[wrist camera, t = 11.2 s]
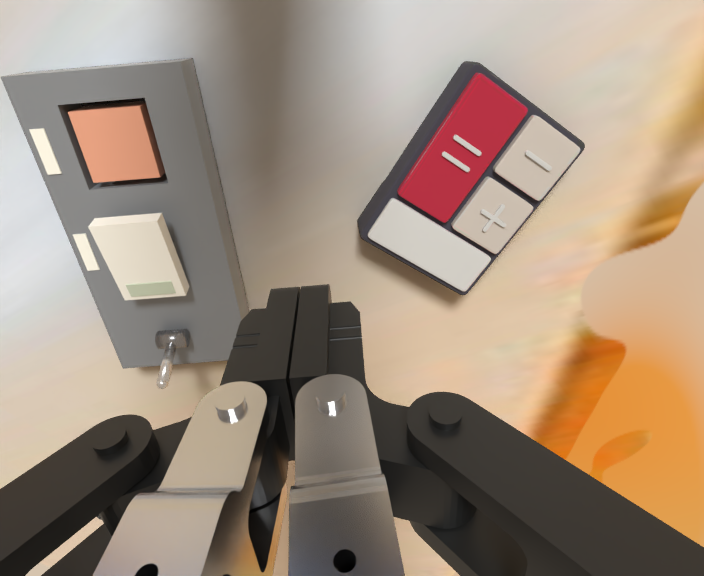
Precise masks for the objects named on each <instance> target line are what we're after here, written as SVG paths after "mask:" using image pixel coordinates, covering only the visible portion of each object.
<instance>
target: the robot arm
mask: <svg viewBox="0 0 704 576" xmlns="http://www.w3.org/2000/svg"><path fill="white" fill-rule="evenodd" d="M291 460H295V486H291V489H290V500H289V571H288V576H405V574H404V569H403V564H402V559H401V554H400V549H399V544H398V539H397V533H396V528H395V523H394V518H393V517H397V518H401V519H405V520H409V521H410V523H411V525H412V527H413V529H414V530H415V532H416V533H417V534H418V535H419V536H420V537H421V538H422V539H423V540H424V541H425V542H426V543H427V544H428V545H429V546H430V547H431V548H432V549H433V550H434V551H435V552H437V553H438V554H439V555H440V556H441V557H442V558H443V559H444V560H445V561H446V562H447V563H448V564H449V565H450V566H451V567H452V568H453V569H454V570H455V571H456V572H457V573H458V574H459V575H460V576H704V547H702V546H700V545H699V544H697V543H695V542H694V541H692V540H691V539H689V538H688V537H686V536H684V535H683V534H681V533H680V532H678V531H677V530H675V529H673V528H672V527H670V526H669V525H667V524H666V523H664V522H662V521H661V520H659V519H657V518H656V517H655V516H653V515H651V514H650V513H648V512H647V511H645V510H643V509H642V508H640V507H639V506H637V505H636V504H634V503H632V502H631V501H629V500H627V499H626V498H624V497H623V496H621V495H620V494H618V493H617V492H615V491H613V490H612V489H610V488H609V487H607V486H606V485H604V484H602V483H601V482H599V481H598V480H596V479H594V478H593V477H591V476H590V475H588V474H587V473H585V472H583V471H582V470H580V469H579V468H577V467H575V466H574V465H572V464H571V463H569V462H568V461H566V460H564V459H563V458H561V457H560V456H558V455H556V454H555V453H553V452H552V451H550V450H549V449H547V448H545V447H544V446H542V445H541V444H539V443H537V442H536V441H534V440H533V439H531V438H530V437H528V436H526V435H525V434H523V433H522V432H520V431H518V430H517V429H515V428H514V427H512V426H511V425H509V424H507V423H506V422H504V421H503V420H501V419H499V418H498V417H496V416H495V415H493V414H492V413H490V412H488V411H487V410H485V409H484V408H482V407H480V406H479V405H477V404H476V403H474V402H473V401H471V400H469V399H468V398H466V397H464V396H461V395H459V394H455V393H450V392H434V393H429V394H426V395H424V396H421V397H420V398H418V399H416V400H415V401H414V402H413V403H412V404H411V406H410V407H406V406H400V405H395V404H391V403H388V402H385V401H383V400H381V399H379V398H378V397H377V396H375V395H374V394H373V393H372V392H371V391H370V390H369V388H368V387H367V384H366V381H365V372H364V359H363V347H362V335H361V322H360V312H359V311H358V310H357V309H356V307H355V306H354V305H353V304H352V303H351V302H340V303H332V300H331V291H330V285H329V284H327V285H315V286H302V287H301V289H300V287H291V288H278V289H271V291H270V294H269V299H268V303H267V307H266V308H265V309H253V310H251V311H250V312H249V313H248V314H247V315H246V316H245V317H244V318H243V319H242V320H241V321H240V324H239V327H238V330H237V334H236V338H235V340H234V343H233V349H231V353H230V356H229V359H228V362H227V365H226V368H225V372H224V375H223V378H222V381H221V384H220V386H219V387H217V388H215V389H213V390H212V391H210V392H209V393H207V394H206V395H205V396H204V397H203V398H202V399H201V401H200V402H199V403H198V405H197V407H196V409H195V411H194V414H193V416H192V417H190V418H188V419H186V420H183V421H181V422H178V423H174V424H171V425H168V426H165V427H162V428H159V429H156V430H153V429H152V427H151V425H150V423H149V421H147V420H146V419H145V418H143V417H141V416H138V415H122V416H117V417H113V418H110V419H108V420H105V421H103V422H101V423H99V424H97V425H96V426H94V427H92V428H91V429H89V430H88V431H86V432H85V433H83V434H82V435H81V436H79V437H78V438H76V439H75V440H73V441H72V442H70V443H69V444H67V445H66V446H64V447H63V448H61V449H60V450H58V451H57V452H55V453H54V454H52V455H51V456H49V457H48V458H46V459H45V460H43V461H42V462H40V463H39V464H37V465H36V466H34V467H33V468H31V469H30V470H28V471H27V472H25V473H24V474H22V475H21V476H19V477H18V478H16V479H15V480H13V481H12V482H10V483H9V484H7V485H6V486H4V487H3V488H1V489H0V576H25V575H26V574H27V573H28V572H29V571H30V570H31V569H32V568H33V567H34V566H36V565H37V564H38V563H39V562H41V561H42V560H43V559H44V558H45V557H47V556H48V555H49V554H50V553H52V552H53V551H54V550H55V549H57V548H58V547H59V546H60V545H62V544H63V543H64V542H65V541H67V540H68V539H69V538H70V537H71V536H73V535H74V534H75V533H76V532H78V531H79V530H80V529H81V528H83V527H84V526H85V525H86V524H88V523H89V522H90V521H91V520H92V519H94V518H95V517H96V516H97V515H100V517H101V519H102V520H103V522H104V524H103V525H102V526H100V527H99V528H98V529H97V530H96V531H94V532H93V533H92V534H91V535H90V536H88V537H87V538H86V539H85V540H83V541H82V542H81V543H80V544H79V545H77V546H76V547H75V548H74V549H73V550H71V551H70V552H69V553H68V554H67V555H65V556H64V557H63V558H62V559H61V560H59V561H58V562H57V563H56V564H55V565H53V566H52V567H51V568H50V569H48V570H47V571H46V572H45V573H44V574H42V575H41V576H272V575H273V569H274V564H275V558H276V553H277V548H278V542H279V537H280V531H281V526H282V521H283V515H284V510H285V504H286V499H287V484H286V478H287V469H288V461H291Z"/></svg>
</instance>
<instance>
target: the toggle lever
mask: <svg viewBox="0 0 704 576" xmlns="http://www.w3.org/2000/svg"><path fill="white" fill-rule="evenodd" d="M155 343H156V346H157V348H158V349H165V350H164V355H163V359H162V363H161V367H160V371H159V375H158V380H157V386H158V387H159V388H161V389H164V388H166V387H167V386H168V384H169V379H170V375H171V370H172V366H173V361H174V357H175V352H176V348H181V347H188V346H189V343H190V334H189V331H188V329H176V330H163V331H157V333H156V336H155Z"/></svg>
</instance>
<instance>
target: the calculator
mask: <svg viewBox="0 0 704 576" xmlns="http://www.w3.org/2000/svg"><path fill="white" fill-rule="evenodd" d="M584 148H585V145H584V143H583V142H582V141H581V140H580V139H578V138H577V137H576V136H574V135H573V134H572V133H571V132H569V131H568V130H567V129H565V128H564V127H563V126H561V125H560V124H559V123H557V122H556V121H555V120H554V119H552V118H551V117H550V116H548V115H547V114H546V113H544V112H543V111H542V110H540V109H539V108H538V107H537V106H535V105H534V104H533V103H531V102H530V101H529V100H527V99H526V98H525V97H523V96H522V95H521V94H520V93H518V92H517V91H516V90H514V89H513V88H512V87H510V86H509V85H508V84H506V83H505V82H504V81H502V80H501V79H500V78H499V77H497V76H496V75H495V74H493V73H492V72H491V71H489V70H488V69H487V68H485V67H484V66H483V65H481V64H480V63H477V62H468V61H466V62H463V63H462V64H461V66H460V67H459V69H458V70H457V72H456V73H455V75H454V76H453V78H452V79H451V81H450V82H449V84H448V85H447V87H446V88H445V90H444V91H443V93H442V94H441V96H440V97H439V99H438V100H437V102H436V103H435V105H434V106H433V108H432V109H431V111H430V112H429V114H428V115H427V117H426V118H425V120H424V121H423V123H422V124H421V126H420V127H419V129H418V130H417V132H416V133H415V135H414V137H413V138H412V140H411V141H410V143H409V144H408V146H407V147H406V149H405V150H404V152H403V153H402V155H401V157H400V158H399V160H398V161H397V163H396V164H395V166H394V167H393V169H392V170H391V172H390V174H389V175H388V177H387V178H386V179H385V181H384V182H383V183H382V184H381V185H380V187H379V188H378V190H377V191H376V193H375V194H374V196H373V197H372V199H371V200H370V202H369V203H368V205H367V206H366V208H365V209H364V211H363V212H362V214H361V215H360V217H359V219H358V227H359V232H360V236H361V238H362V239H363V240H365V241H366V242H368V243H370V244H372V245H373V246H375V247H377V248H379V249H380V250H382V251H384V252H386V253H387V254H389V255H391V256H393V257H395V258H396V259H398V260H400V261H402V262H403V263H405V264H407V265H409V266H410V267H412V268H414V269H416V270H418V271H419V272H421V273H423V274H425V275H426V276H428V277H430V278H432V279H433V280H435V281H437V282H439V283H441V284H442V285H444V286H446V287H448V288H449V289H451V290H453V291H455V292H457V293H458V294H460V295H466V294H467V293H468V292H469V291H470V290H471V288H472V287H473V286H474V285H475V283H476V282H477V281H478V280H479V278H480V277H481V276H482V275H483V274H484V272H485V271H486V270H487V269H488V267H489V266H490V265H491V264H492V262H493V261H494V260H495V259H496V257H497V256H498V255H499V254H500V253H501V251H502V250H503V249H504V248H505V246H506V245H507V244H508V243H509V241H510V240H511V239H512V238H513V237H514V235H515V234H516V233H517V232H518V230H519V229H520V228H521V227H522V225H523V224H524V223H525V222H526V221H527V219H528V218H529V217H530V216H531V214H532V213H533V212H534V211H535V209H536V208H537V207H538V206H539V204H540V203H541V202H542V201H543V200H544V198H545V197H546V196H547V195H548V193H549V192H550V191H551V190H552V188H553V187H554V186H555V185H556V184H557V182H558V181H559V180H560V179H561V177H562V176H563V175H564V174H565V172H566V171H567V170H568V169H569V168H570V166H571V165H572V164H573V163H574V161H575V160H576V159H577V158H578V156H579V155H580V154H581V153H582V151H583V150H584Z"/></svg>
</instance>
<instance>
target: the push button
mask: <svg viewBox="0 0 704 576" xmlns="http://www.w3.org/2000/svg"><path fill="white" fill-rule="evenodd" d="M68 114H69V117H70V120H71V123H72V125H73V128H74V131H75V134H76V136H77V139H78V142H79V145H80V147H81V150H82V153H83V155H84V158H85V161H86V164H87V166H88V169H89V172H90V175H91V177H92V180H93V183H98V182H110V181H122V180H134V179H146V178H158V177H161V176H162V175H163V174H164V173H166V172H165V169H164V165H163V162H162V158H161V155H160V151H159V147H158V144H157V140H156V137H155V133H154V130H153V126H152V123H151V119H150V116H149V112H148V108H147V105H146V101H134V102H122V103H110V104H99V105H87V106H84V107H81V108H78V109H75V110H72V111H69V112H68Z"/></svg>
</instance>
